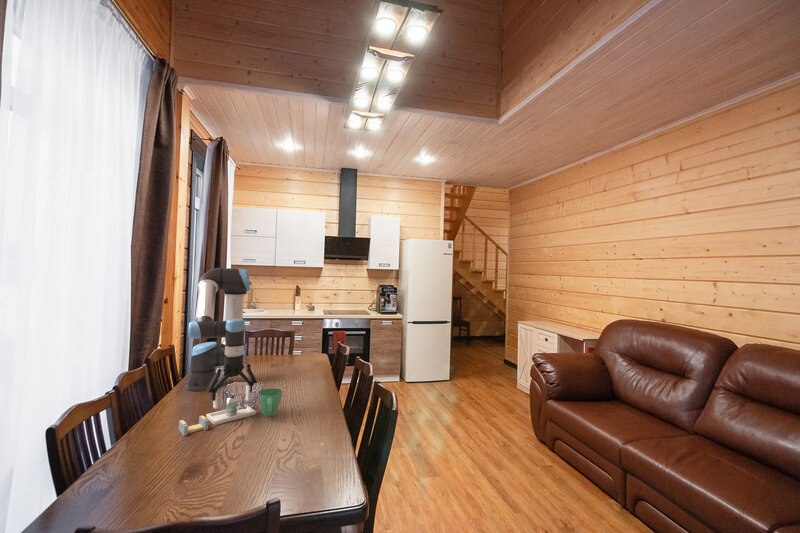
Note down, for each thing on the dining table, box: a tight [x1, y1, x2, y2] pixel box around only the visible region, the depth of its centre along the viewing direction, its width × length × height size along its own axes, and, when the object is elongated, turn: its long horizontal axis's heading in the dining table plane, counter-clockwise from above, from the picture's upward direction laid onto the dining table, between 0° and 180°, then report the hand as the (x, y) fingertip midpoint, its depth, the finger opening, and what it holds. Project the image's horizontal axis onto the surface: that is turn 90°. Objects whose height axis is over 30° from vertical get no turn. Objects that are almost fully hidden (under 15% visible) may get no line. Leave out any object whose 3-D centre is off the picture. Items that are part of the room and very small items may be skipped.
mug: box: [258, 387, 283, 418], centre depth 157 cm, size 15×10×10 cm
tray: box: [205, 405, 257, 426], centre depth 155 cm, size 10×17×2 cm, turn 136°
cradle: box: [178, 415, 209, 437], centre depth 141 cm, size 7×8×4 cm
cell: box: [225, 395, 239, 417], centre depth 156 cm, size 4×4×8 cm
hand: (231, 403), depth 156 cm, fingers open, 13 cm apart
